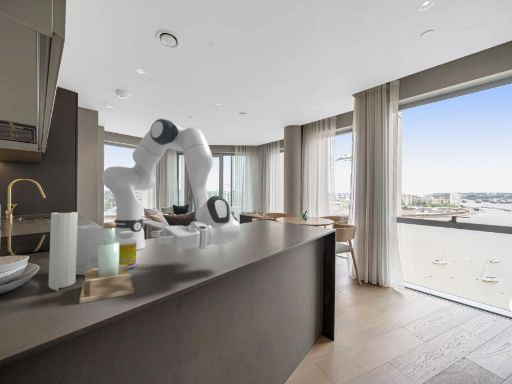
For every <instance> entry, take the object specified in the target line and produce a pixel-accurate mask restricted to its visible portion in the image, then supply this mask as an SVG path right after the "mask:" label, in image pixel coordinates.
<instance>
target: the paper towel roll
mask: <svg viewBox="0 0 512 384" xmlns="http://www.w3.org/2000/svg"><path fill="white" fill-rule="evenodd" d="M78 220H79V212H76V211H58V212H51V214H50V236H49V263H48V288H49V289H51V290H54V291H55V290H56V291H59V289H62V288H67V287H71V286H72V285H74V284H75V283H76V282H77V280H76V277H77V276H76V275H77V274H76V255H77V227H78V226H79V225H78Z"/></svg>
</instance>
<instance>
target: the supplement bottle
mask: <svg viewBox="0 0 512 384" xmlns="http://www.w3.org/2000/svg"><path fill="white" fill-rule="evenodd" d="M119 236H120V239H118V240H117V241H116V242H119V265H126V264H128V270H129V269H132V268H134V267H135V266H136V265H137V250H136V243H137V241H136V239H135V238H133V236H134V232H133V231H123V232H120V233H119Z"/></svg>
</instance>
